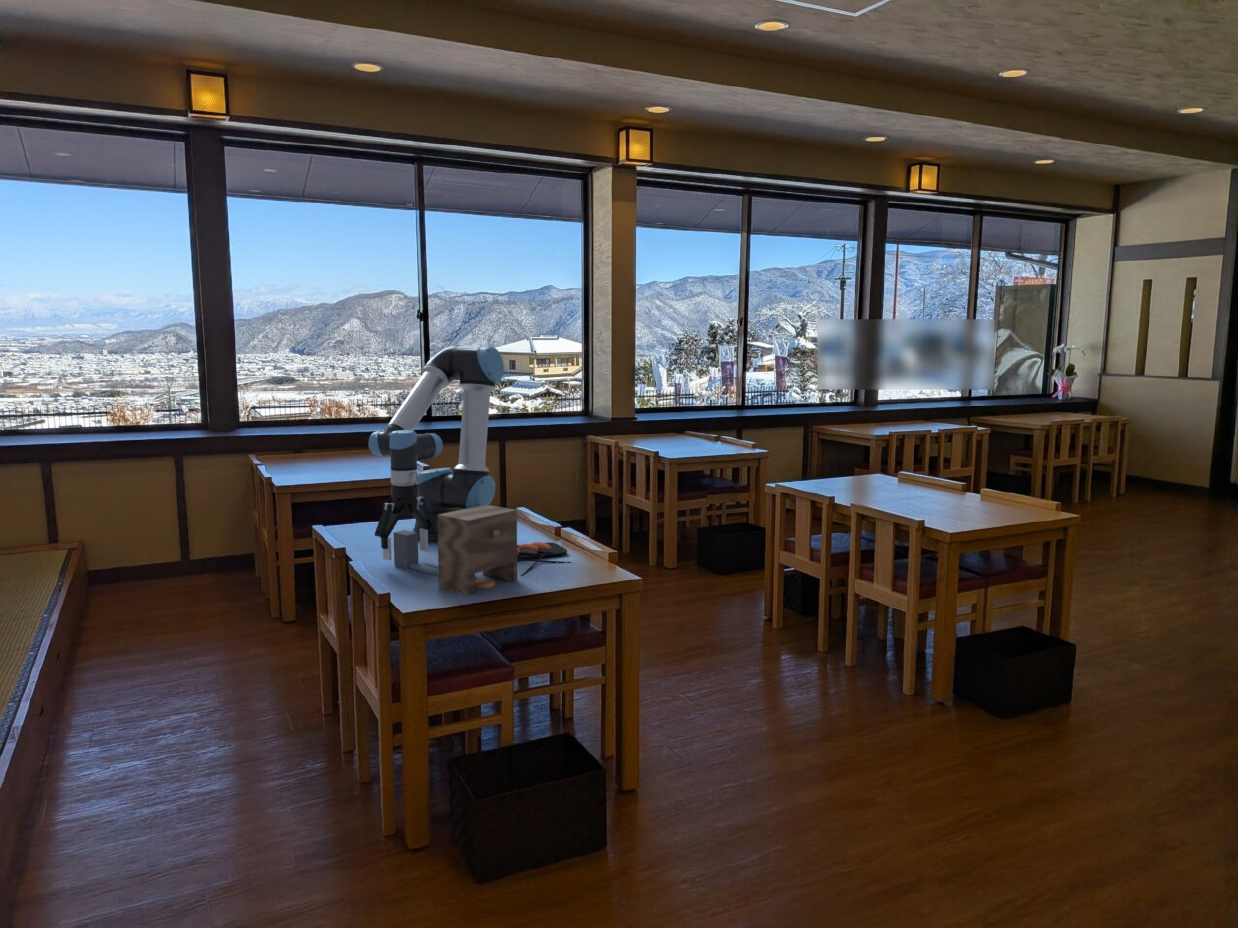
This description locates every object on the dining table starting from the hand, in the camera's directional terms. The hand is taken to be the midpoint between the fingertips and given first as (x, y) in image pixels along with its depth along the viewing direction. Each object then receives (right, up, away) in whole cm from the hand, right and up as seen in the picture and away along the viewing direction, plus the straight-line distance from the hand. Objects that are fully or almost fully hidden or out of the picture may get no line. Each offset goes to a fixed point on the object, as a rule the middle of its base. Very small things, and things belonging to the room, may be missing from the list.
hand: (406, 554), depth 251 cm
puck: (+26, -7, -18) cm, 32 cm away
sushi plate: (+35, -3, +7) cm, 36 cm away
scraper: (+8, -4, -6) cm, 11 cm away
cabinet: (+24, -6, -17) cm, 30 cm away
